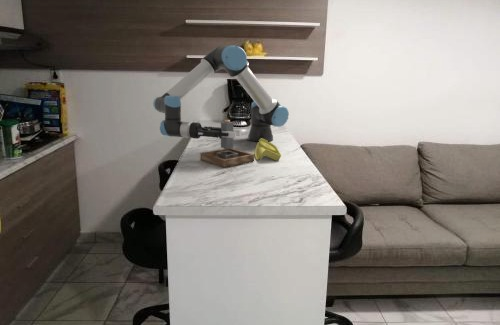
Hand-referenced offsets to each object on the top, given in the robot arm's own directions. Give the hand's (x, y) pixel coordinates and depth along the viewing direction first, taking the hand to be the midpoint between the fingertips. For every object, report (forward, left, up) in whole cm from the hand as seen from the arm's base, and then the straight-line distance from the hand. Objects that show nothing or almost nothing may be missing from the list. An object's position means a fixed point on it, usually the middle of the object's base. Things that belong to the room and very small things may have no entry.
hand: (237, 133), depth 179 cm
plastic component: (-19, +1, -14) cm, 23 cm away
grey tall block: (+3, -5, -7) cm, 9 cm away
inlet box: (+2, -4, -13) cm, 14 cm away
